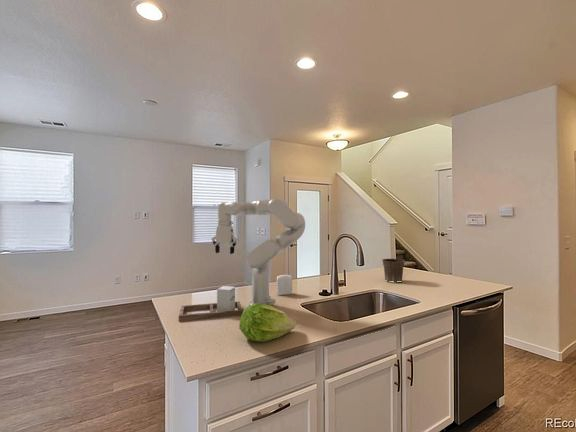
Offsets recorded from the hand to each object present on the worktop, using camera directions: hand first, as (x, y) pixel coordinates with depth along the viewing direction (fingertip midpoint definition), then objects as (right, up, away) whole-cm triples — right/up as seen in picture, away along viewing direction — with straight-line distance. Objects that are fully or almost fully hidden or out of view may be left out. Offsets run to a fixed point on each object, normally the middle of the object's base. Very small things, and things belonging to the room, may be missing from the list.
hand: (224, 253), depth 171 cm
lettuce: (+29, -29, -48) cm, 63 cm away
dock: (-3, -29, -19) cm, 34 cm away
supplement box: (+4, -29, -17) cm, 34 cm away
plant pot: (+117, -28, +53) cm, 131 cm away
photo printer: (+35, -28, +16) cm, 48 cm away
